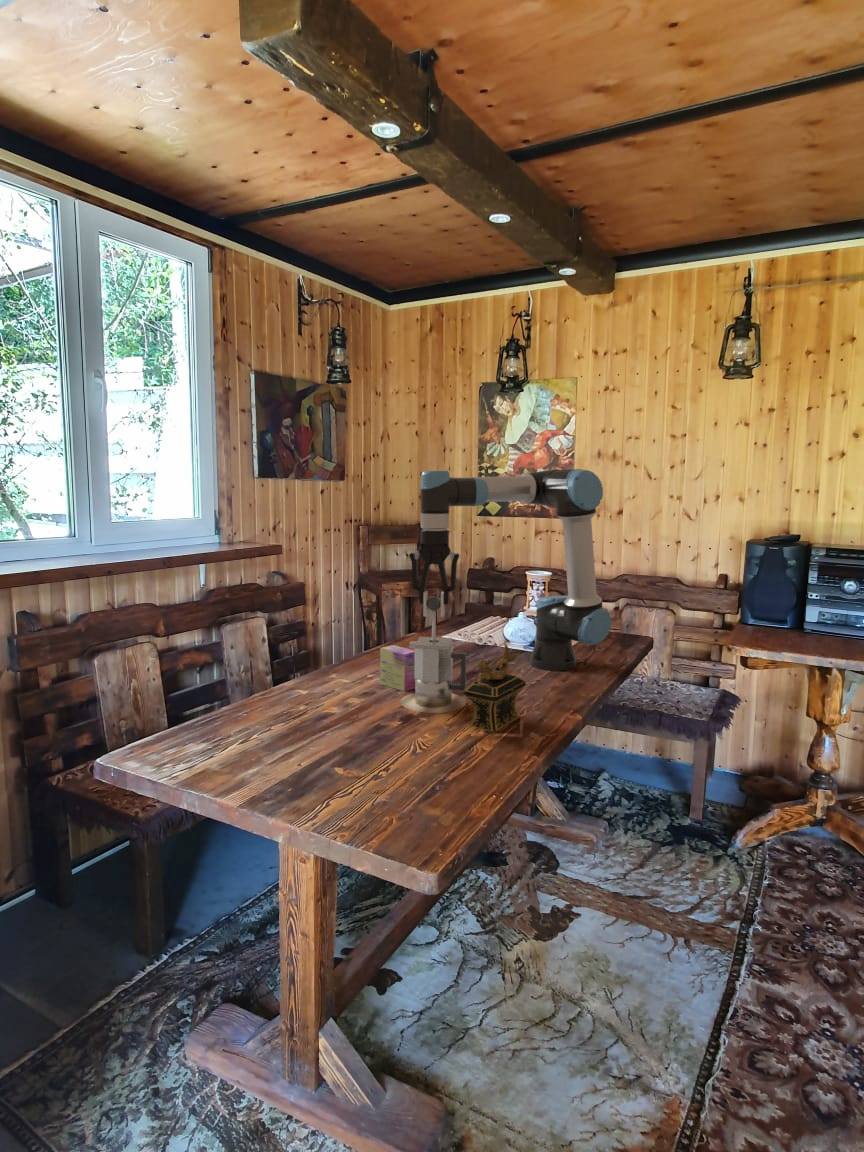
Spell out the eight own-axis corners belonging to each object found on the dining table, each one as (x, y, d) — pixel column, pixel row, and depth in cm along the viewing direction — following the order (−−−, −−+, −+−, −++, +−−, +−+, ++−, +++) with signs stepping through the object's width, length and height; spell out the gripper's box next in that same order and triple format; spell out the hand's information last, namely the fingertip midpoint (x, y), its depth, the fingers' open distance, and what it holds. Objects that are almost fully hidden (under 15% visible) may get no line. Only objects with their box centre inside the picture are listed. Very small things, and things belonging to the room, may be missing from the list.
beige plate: (468, 695, 200) (468, 693, 200) (462, 717, 182) (462, 714, 182) (406, 692, 202) (406, 689, 202) (394, 713, 185) (395, 710, 185)
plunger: (441, 655, 192) (442, 595, 190) (440, 659, 188) (440, 597, 186) (427, 655, 193) (427, 594, 190) (425, 659, 189) (425, 597, 186)
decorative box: (495, 738, 168) (497, 658, 165) (461, 729, 174) (462, 652, 171) (532, 714, 185) (534, 642, 182) (500, 707, 190) (502, 637, 187)
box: (418, 689, 205) (418, 650, 204) (404, 694, 201) (404, 654, 199) (393, 682, 212) (393, 644, 211) (379, 686, 208) (379, 647, 206)
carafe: (466, 697, 196) (467, 638, 193) (463, 709, 186) (464, 647, 184) (412, 694, 198) (413, 636, 195) (406, 706, 188) (407, 644, 186)
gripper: (467, 528, 188) (466, 614, 191) (405, 527, 190) (405, 612, 193) (465, 531, 180) (464, 619, 184) (400, 529, 183) (400, 617, 186)
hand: (433, 615), depth 189 cm, fingers closed on plunger, 4 cm apart
